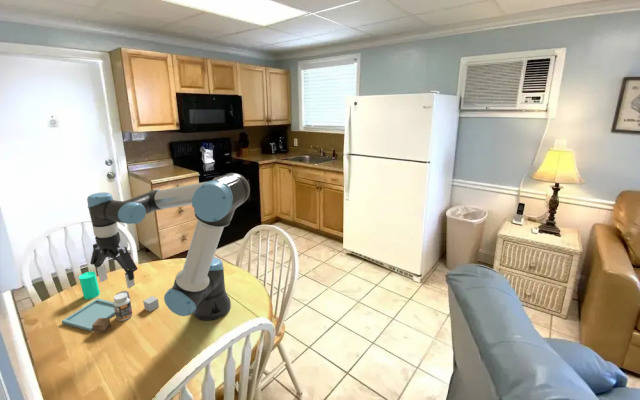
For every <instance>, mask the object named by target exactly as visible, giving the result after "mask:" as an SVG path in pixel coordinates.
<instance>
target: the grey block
mask: <svg viewBox="0 0 640 400" xmlns="http://www.w3.org/2000/svg"><path fill="white" fill-rule="evenodd" d="M143 307H144V310H147V311H148V312H150V313H151V312H153V311H154V310H157V309H158V308H159V307H160V304H159V299H158V298H157V297H155V296H153V295H151V296H149V297H148V298H145V299H144V300H143Z"/></svg>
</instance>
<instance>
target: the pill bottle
mask: <svg viewBox="0 0 640 400" xmlns="http://www.w3.org/2000/svg"><path fill="white" fill-rule="evenodd" d="M118 293H119V292H118ZM116 294H117V293H116ZM116 294H115V295H114V296H113V302H114V304H113V306H114V310H115V319H116V320H117V321H120V322H121V321H123V322H124V321H127V320H129V319H130V318H131V317H132V316H133V309H132V301H131V298H130V299H129V298H128V295H127V293H119V294H117V295H116Z"/></svg>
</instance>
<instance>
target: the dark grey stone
mask: <svg viewBox="0 0 640 400" xmlns="http://www.w3.org/2000/svg"><path fill="white" fill-rule="evenodd" d="M119 293H127V295H128V298H129V299H130V300H131V298H130V294H129V293H130V292H129V291H127V290H123V291H119V292H118V293H116V294H115V295H117V294H119Z"/></svg>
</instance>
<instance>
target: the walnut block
mask: <svg viewBox="0 0 640 400" xmlns="http://www.w3.org/2000/svg"><path fill="white" fill-rule="evenodd" d="M92 327H93V331H92V332H93V334H94V335H101V334H102V335H103V334H104V335H105V334H106V333H107V332H108V331H109V330H110V329H111V327H112V324H111V320H110V319H109V318H98V319H97V320H96V322H95V323H94V324H93V325H92Z"/></svg>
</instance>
